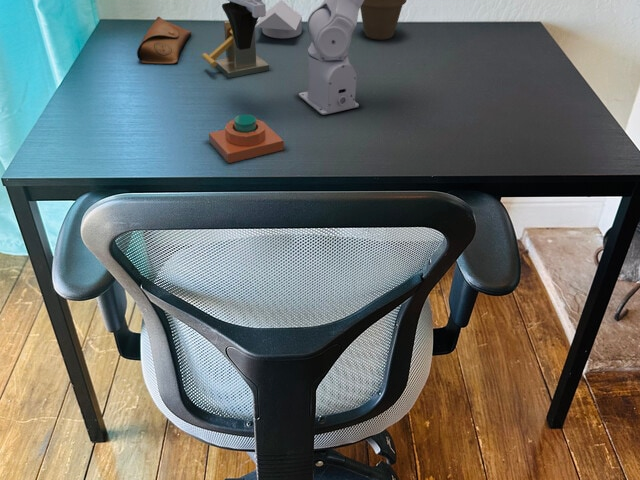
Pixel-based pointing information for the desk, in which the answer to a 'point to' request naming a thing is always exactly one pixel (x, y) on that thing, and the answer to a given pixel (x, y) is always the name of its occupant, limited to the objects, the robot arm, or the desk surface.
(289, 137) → the desk surface
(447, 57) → the desk surface
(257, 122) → the button block
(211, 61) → the tap lever
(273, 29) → the wedge on round base
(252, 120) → the button
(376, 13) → the flower pot
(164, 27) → the sunglasses case
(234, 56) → the bracket
